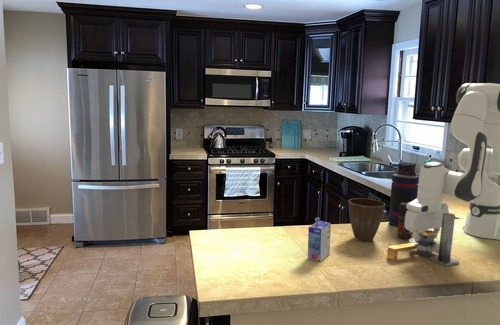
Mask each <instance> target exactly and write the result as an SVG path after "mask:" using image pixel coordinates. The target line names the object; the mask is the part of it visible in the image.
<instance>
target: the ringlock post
mask: <svg viewBox="0 0 500 325" xmlns="http://www.w3.org/2000/svg"><path fill="white" fill-rule="evenodd" d="M455 218H456V215H455V213H450V212H449V213H443V217H442V226H441V227H440V237H439V241H438V240H436V239H434V243H433V246H428V245H422V244H419V243H418V241H415V240H414V238H415V237H412V238H410V239H409V240H408V242H407V243H401V244H394V245H389V246H387V256H386V259H388V260H391V261H398V255H399V252H404V251H410V250H417V249H419V250H424V251H432V252H433V254H437V255H434V256H433V255H431V256H430V257H429V258H428V260H430V261H431V260H432V262H435V263H436V264H439V265H441V266H443V267H451V266H454V265H459V264H460V261H459V260H458V259H455V258H453V257H452V245H453V238H454V237H453V236H454V229H455V221H456V220H455Z"/></svg>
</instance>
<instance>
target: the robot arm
mask: <svg viewBox="0 0 500 325" xmlns="http://www.w3.org/2000/svg"><path fill="white" fill-rule="evenodd" d="M455 99H456V100H455V101H456V103H457V106H456V108H455V111H454V114H453V116H452V119H451V123H450V127H449V128H450V132H451V134H452V136H453V137H454V138H455V139H456V140H458V141H459V142H461V143H462V144H465V145H466V146H467V147H466V148H465V147H464V148H463V149H462V150H461V151H460V152H459V153H458V156H457V163H458V165H459V167H460V168H461V170H463V171H464V172H460V171H459V172H458V171H454V170H451V169H448V168H446V167H445V165H444V163H443V162H439V161H429V162H428V161H427V162H426V163H423V164H422V165H421V168H420V174H419V175H418V176H419V184H418V194H417V198H416V199H415V200H413V201H411V202H409V203H408V204H407V205H406V208H407V209H409V210H407V212H406V215H405V224H404V226H405V228H406V229H407V230H409V231H412V235H413V236H414V237H413V238H414V240H415V241H421V237H420V236H419V233H420V230H426V229H429V230H432V229H433V231H434V232H436V235H434V240H436V239H438V235H439V232H441V226H442V217H443V213H450V211H449V205H448V204H447V203H445V202H443V199H444V198H443V195H445V196H449V197H452V198H456V199H459V200H461V201H464V202H469V211H467V215H466V218H465V223H464V225H463V226H462V229H463V232H464V233H466V234H468V235H470V236H473V237H478V238H481V239H491V240H497V241H500V185H499V184H498V183H496V182H495V181H492V180H491V179H490V178H489V176H488V174H492V175H500V83H493V82H492V83H490V82H487V83H486V82H485V83H484V82H481V83H480V82H479V83H478V82H477V83H472V82H468V83H467V82H466V83H464V84H462V85H461V86H460V87H459V88H458V89H457V91H456V95H455ZM488 146H490V147H491V148H488Z"/></svg>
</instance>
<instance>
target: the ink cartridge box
mask: <svg viewBox="0 0 500 325" xmlns="http://www.w3.org/2000/svg"><path fill="white" fill-rule="evenodd" d="M314 221H315V223H313V224H311V225H310V226H309V227H308V233H307V234H308V236H307V237H308V238H307V239H308V240H307V241H308V242H307V259H308V260H312V261H316V262H322V261H323V260H324V259H325V258H326V257H328V256H329V255H330V253H331V229H332V224H331V222H327V221H323V220H321V219H320V217H319V216H317V217H315V218H314Z"/></svg>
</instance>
